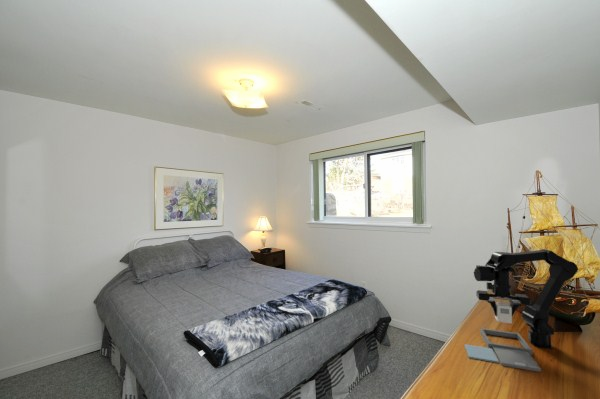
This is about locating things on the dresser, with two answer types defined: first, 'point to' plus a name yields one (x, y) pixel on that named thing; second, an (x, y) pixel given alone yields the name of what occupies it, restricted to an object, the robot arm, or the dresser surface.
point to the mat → (481, 353)
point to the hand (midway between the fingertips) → (503, 316)
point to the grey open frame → (511, 351)
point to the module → (503, 312)
